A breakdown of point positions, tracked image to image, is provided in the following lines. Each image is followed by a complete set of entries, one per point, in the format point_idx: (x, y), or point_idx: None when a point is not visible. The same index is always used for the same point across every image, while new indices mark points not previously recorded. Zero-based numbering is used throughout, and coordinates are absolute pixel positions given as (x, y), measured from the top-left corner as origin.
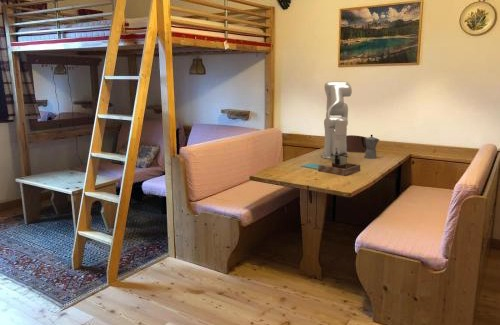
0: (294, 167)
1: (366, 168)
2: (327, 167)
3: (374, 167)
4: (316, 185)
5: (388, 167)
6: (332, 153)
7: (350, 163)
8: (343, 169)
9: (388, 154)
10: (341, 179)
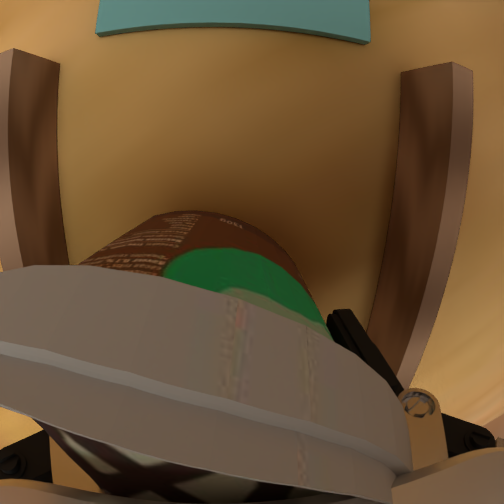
0: None
1: (448, 385)
2: (3, 239)
3: (481, 391)
4: None
5: (486, 421)
6: (73, 400)
7: (414, 368)
8: None
9: None
10: (11, 414)
